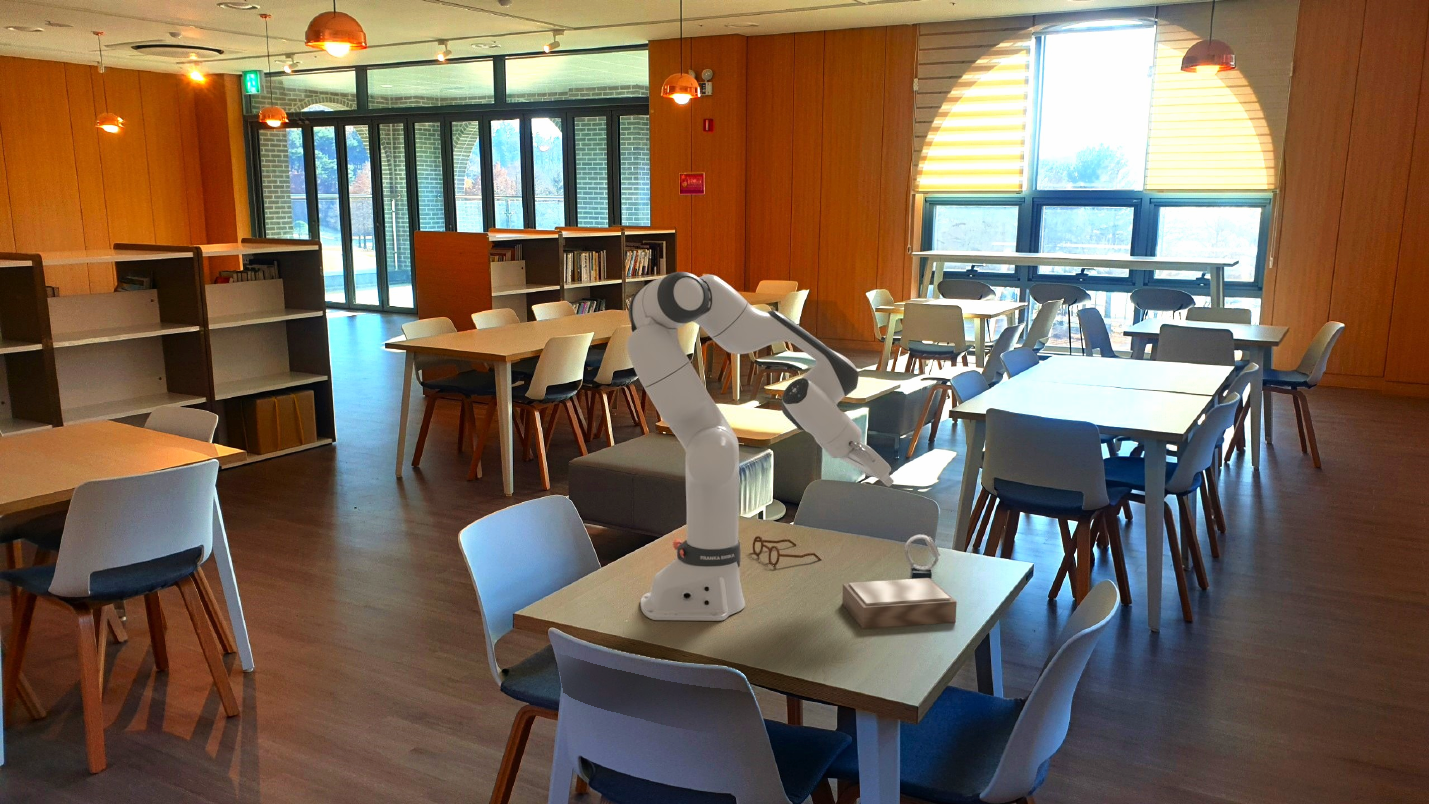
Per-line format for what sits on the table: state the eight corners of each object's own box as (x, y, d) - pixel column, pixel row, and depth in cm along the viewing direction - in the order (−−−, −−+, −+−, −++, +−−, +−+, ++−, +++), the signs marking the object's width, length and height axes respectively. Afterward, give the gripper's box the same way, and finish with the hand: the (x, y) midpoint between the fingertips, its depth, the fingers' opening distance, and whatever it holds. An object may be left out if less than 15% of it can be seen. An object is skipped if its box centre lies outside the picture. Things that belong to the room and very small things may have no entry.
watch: (939, 586, 231) (942, 540, 229) (903, 585, 232) (905, 538, 230) (937, 578, 236) (939, 533, 234) (902, 576, 237) (904, 531, 235)
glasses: (751, 553, 255) (751, 534, 254) (796, 546, 260) (796, 528, 259) (776, 569, 243) (776, 549, 242) (823, 562, 248) (823, 542, 248)
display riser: (863, 628, 207) (863, 605, 206) (842, 603, 220) (842, 581, 219) (955, 622, 210) (956, 599, 209) (929, 597, 224) (930, 576, 223)
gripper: (872, 437, 211) (912, 479, 216) (831, 419, 231) (869, 458, 235) (852, 459, 211) (892, 501, 216) (813, 439, 230) (851, 478, 235)
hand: (880, 478), depth 226 cm, fingers open, 8 cm apart
